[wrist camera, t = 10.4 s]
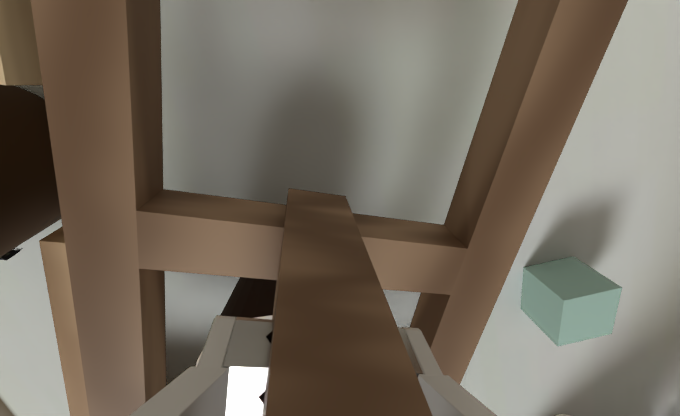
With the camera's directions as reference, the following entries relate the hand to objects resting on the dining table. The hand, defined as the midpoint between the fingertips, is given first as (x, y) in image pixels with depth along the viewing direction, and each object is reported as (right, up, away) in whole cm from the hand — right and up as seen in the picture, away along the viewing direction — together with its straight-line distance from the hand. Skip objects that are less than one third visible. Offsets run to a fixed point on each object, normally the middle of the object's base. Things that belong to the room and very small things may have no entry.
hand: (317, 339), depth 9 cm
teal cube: (+21, -4, +22) cm, 31 cm away
